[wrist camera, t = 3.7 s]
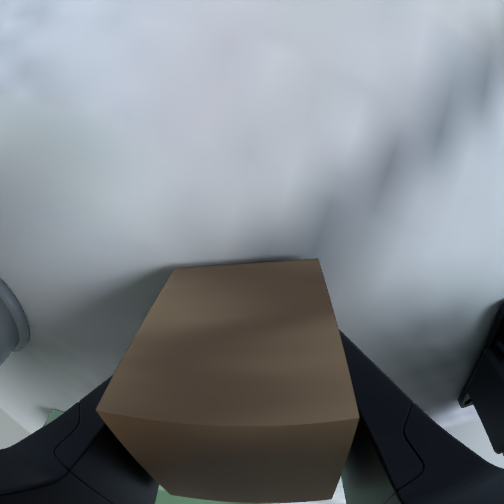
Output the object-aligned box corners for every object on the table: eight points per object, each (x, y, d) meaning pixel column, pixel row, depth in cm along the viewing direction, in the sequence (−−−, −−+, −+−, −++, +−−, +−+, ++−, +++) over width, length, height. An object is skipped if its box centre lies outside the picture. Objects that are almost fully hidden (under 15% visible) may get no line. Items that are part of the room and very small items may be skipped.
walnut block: (318, 258, 8) (359, 418, 3) (316, 363, 10) (331, 499, 5) (174, 268, 8) (95, 409, 4) (202, 368, 10) (170, 494, 5)
